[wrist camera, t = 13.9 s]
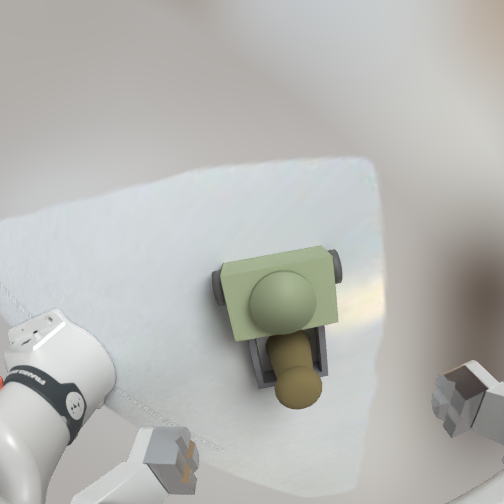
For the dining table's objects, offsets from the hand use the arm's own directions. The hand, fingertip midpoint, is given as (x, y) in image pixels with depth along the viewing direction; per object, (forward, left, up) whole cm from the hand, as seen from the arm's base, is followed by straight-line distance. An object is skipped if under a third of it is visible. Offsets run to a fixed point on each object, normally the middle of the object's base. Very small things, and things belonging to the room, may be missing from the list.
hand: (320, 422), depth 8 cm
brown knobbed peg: (+1, -15, -29) cm, 32 cm away
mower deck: (+1, -11, -29) cm, 31 cm away
